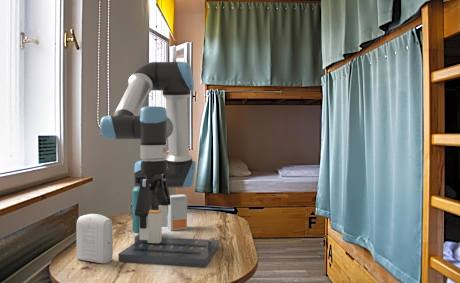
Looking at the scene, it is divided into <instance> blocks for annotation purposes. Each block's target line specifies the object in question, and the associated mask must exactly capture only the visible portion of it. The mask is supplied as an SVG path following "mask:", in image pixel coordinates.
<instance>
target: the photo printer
mask: <svg viewBox="0 0 460 283" xmlns="http://www.w3.org/2000/svg"><path fill="white" fill-rule="evenodd" d="M75 225H76V232H75V233H76V252H75V253H76V254H75V255H76V259H77V260H81V261H87V262H92V263H96V264H97V263H98V264H108V263H110V262H111V261H112V259H113V253H114V252H113V249H114V248H113V247H114V246H113V243H114V242H113V238H114V236H113V235H114V234H113V228H114V227H113V225H114V224H113V221H112V220H111V218H109V217H107V216H105V215H103V214H98V213H88V214H84V215H80V216H79V217H78V218H77V220H76V224H75Z"/></svg>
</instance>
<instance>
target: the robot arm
mask: <svg viewBox="0 0 460 283" xmlns="http://www.w3.org/2000/svg"><path fill="white" fill-rule="evenodd" d="M194 81H195V80H194V75H193V70H192V67H191V64H190V63H189V62H186V61H151V62H148V63H145V64H143V65H141V66H139V67H138V68H137V69H135V70H134V71H133V72H132V73H131V75H130V76H129V78H128V82H127V84H128V86H127V88H126V90H125V91H124V94H123V96H122V97H121V99H120V102H119V104H118V105H117V108H116V109H115V111H114V113H113V115H111V114H110V115H104V116H103V117H102V118H101V119H100V125H99V128H100V130H99V131H100V134H101V136H102V137H103V139H106V140H115V141H116V140H140V159H141V160H138V161H136V162H135V164H134V170H133V174H134V181H135V178H136V177H137V176H146V179H140V183H135V182H134V188H135V187H136V186H140V189H139V194H138V199H137V204H136V210H135V216H139V234H138V235H139V239H140V240H150V216H148V213H149V210H150V206H151V210H162V212H161V223H162V227H163V228H168V205H170V204H171V202H170V195H171V194H170V189H171V188H172V189H173V188H174V189H175V188H176V189H177V188H178V189H179V188H180V189H186V188H191V187H192V186H193V185H194V181H195V176H196V169H197V168H196V167H197V166H196V165H197V162H196V161H195V160H193V156H192V155H191V154H190V152H189V123H188V121H189V119H188V98H189V97H190V96H191V92H192V91H194V90H195V86H194V85H195V83H194ZM152 91H160V92H162V96H163V97H164V98H165V99H166V107H164V106H154V105H153V106H144V103H145V100H146V98H147V96H148V95H149V94H150V93H151V92H152ZM167 140H168V141H167ZM167 142H168V144H167ZM167 145H168V146H167ZM167 153H168V154H167ZM132 208H133V204H132V203H131V205H130V213H131V214H132Z"/></svg>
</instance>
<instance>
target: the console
mask: <svg viewBox="0 0 460 283" xmlns="http://www.w3.org/2000/svg"><path fill="white" fill-rule="evenodd" d="M219 248H220V240H219V239H218V240H217V239H215V237H210V238H209V239H203V238H202V239H201V238H199V239H198V238H183V237H163V236H162V241H161V242H160V243H148V240H140V239H139V234H138V235H136V236H134V243H132V244H131V245H129V246H128V247H126V248H125V249H124V250H122V251H120V252H119V253H118V254H117V255H118V262H123V263H140V264H150V263H151V264H154V265H168V266H181V267H195V268H207V266H208V264H209V263H210V261H212V258H213V257H214V255H215V254H216V252H217V250H219Z"/></svg>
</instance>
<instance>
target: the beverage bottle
mask: <svg viewBox="0 0 460 283" xmlns="http://www.w3.org/2000/svg"><path fill="white" fill-rule="evenodd" d="M140 179H146V176H137V177H136V178H135V180H134V184H135V183H140ZM139 189H140V186H136V187H135V186H134V187H133V189H132V190H131V193H132V194H131V195H132V196H131V197H132V198H131V199H132V202H131V205H132V204H133V208H132V213H131V215H132V219H131V220H132V233H134V234H138V235H139V216H135V210H136V204H137V199H138V194H139ZM150 210H151V206H150Z"/></svg>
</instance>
